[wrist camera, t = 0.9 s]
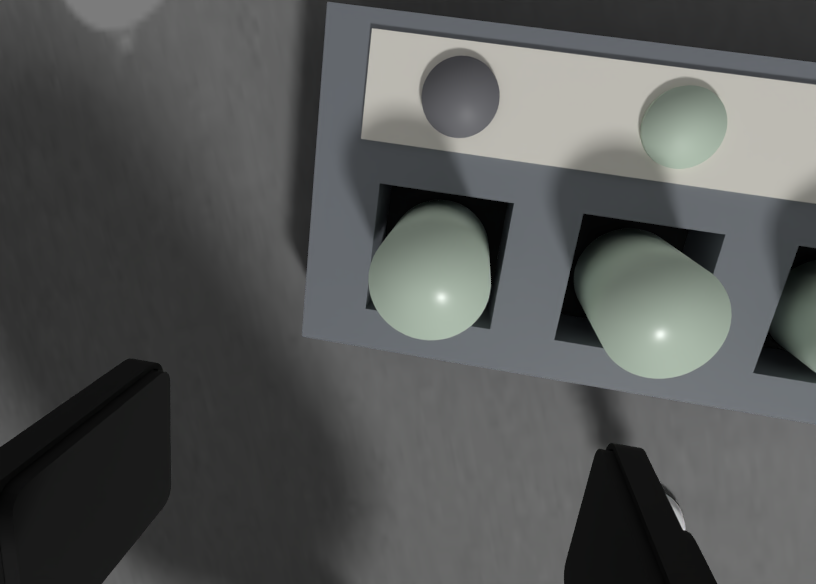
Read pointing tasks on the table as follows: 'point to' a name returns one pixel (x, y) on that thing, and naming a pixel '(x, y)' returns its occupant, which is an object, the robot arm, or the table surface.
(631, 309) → the button middle
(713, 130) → the board
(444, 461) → the table surface
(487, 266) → the button left
